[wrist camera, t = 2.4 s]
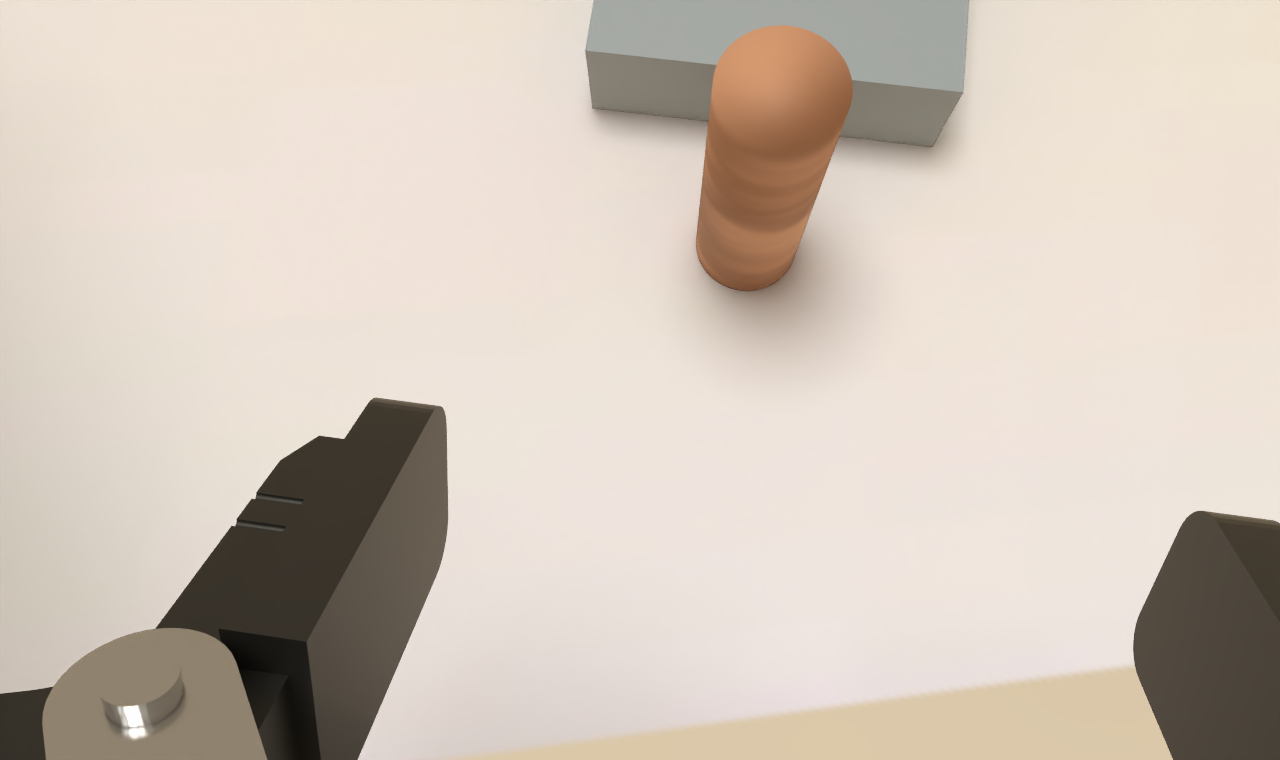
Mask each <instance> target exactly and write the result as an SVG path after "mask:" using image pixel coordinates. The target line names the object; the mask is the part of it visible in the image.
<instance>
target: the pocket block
mask: <svg viewBox="0 0 1280 760" xmlns="http://www.w3.org/2000/svg"><path fill="white" fill-rule="evenodd" d="M968 8H969V0H594V2H593V8H592V14H591V20H590V26H589V32H588V38H587V44H586V50H585V51H586V59H587V67H588V75H589V83H590V91H591V100H592V108H597V109H605V110H614V111H623V112H632V113H640V114H649V115H658V116H667V117H675V118H684V119H693V120H701V121H709V112H710V102H711V93H712V83H713V76H714V72H715V69H716V65H717V63H718V61H719V59H720V57H721V56H722V54H723V53H724V52H725V50H726V49H727V48H728V47H729V46H730V45H731V44H732V43H733V42H734V41H736V40H737V39H738V38H740V37H741V36H743V35H744V34H747V33H749V32H751V31H753V30H756V29H759V28H763V27H767V26H776V25H786V26H794V27H799V28H803V29H806V30H809V31H811V32H814V33H815V34H817V35H819V36H821V37H823V38H824V39H825V40H827V41H828V42H829V43H831V44H832V45H833V46H834V47H835V48H836V49H837V50H838V52H839V53H840V54H841V55H842V57H843V58H844V60H845V62H846V64H847V66H848V68H849V71H850V74H851V78H852V84H853V94H852V101H851V105H850V109H849V111H848V114H847V117H846V119H845V122H844V125H843V127H842V130H841V133H840V135H839V136H841V137H850V138H858V139H867V140H876V141H885V142H893V143H902V144H911V145H919V146H928V147H932V146H933V144H934V143H935V141H936V139H937V137H938V136H939V134H940V132H941V130H942V129H943V127H944V125H945V123H946V122H947V120H948V118H949V116H950V115H951V113H952V111H953V109H954V108H955V106H956V104H957V102H958V101H959V99H960V97H961V95H962V94H963V89H964V73H965V56H966V40H967V24H968Z"/></svg>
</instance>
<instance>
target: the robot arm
mask: <svg viewBox="0 0 1280 760" xmlns="http://www.w3.org/2000/svg"><path fill="white" fill-rule="evenodd" d="M447 526H448V486H447V427H446V416H445V412H444V410H443V408H442V407H441V406H434V405H427V404H419V403H412V402H404V401H397V400H390V399H382V398H373V399H372V400H371V401H370V402H369V403H368V404H367V406H366V407H365V409H364V410H363V412H362V413H361V415H360V416H359V418H358V419H357V421H356V422H355V424H354V425H353V427H352V428H351V430H350V431H349V433H348V434H347V436H346V437H345V439H339V438H332V437H324V436H318V437H316V438H315V439H313V440H312V441H310V442H309V443H307V444H306V445H304V446H302V447H301V448H299V449H298V450H296V451H295V452H293V453H291V454H290V455H288V456H287V457H285V458H284V459H282V460H280V462H279V463H278V464H277V466H276V467H275V468H274V470H273V471H272V472H271V474H270V475H269V476H268V478H267V479H266V480H265V482H264V483H263V484H262V486H261V487H260V488H259V490H258V491H257V494H256V499H251V501H250V502H249V503H248V505H247V506H246V507H245V509H244V510H243V511H242V513H241V514H240V515H239V517H238V518H237V523H236V526H231V528H230V529H229V530H228V532H227V533H226V534H225V536H224V537H223V538H222V540H221V541H220V542H219V544H218V545H217V546H216V548H215V549H214V551H213V552H212V553H211V555H210V556H209V557H208V559H207V560H206V561H205V563H204V564H203V565H202V567H201V568H200V569H199V571H198V572H197V573H196V575H195V576H194V577H193V579H192V580H191V582H190V583H189V584H188V586H187V587H186V588H185V590H184V591H183V592H182V594H181V595H180V596H179V598H178V599H177V600H176V602H175V603H174V604H173V606H172V607H171V609H170V610H169V611H168V613H167V614H166V615H165V617H164V618H163V619H162V621H161V622H160V623H159V625H158V626H157V627H156V629H152V630H146V631H141V632H137V633H133V634H129V635H127V636H124V637H121V638H118V639H115V640H113V641H111V642H109V643H107V644H104V645H102V646H100V647H98V648H97V649H95V650H94V651H92V652H90V653H89V654H87V655H85V656H84V657H83V658H81V659H80V660H79V661H78V662H76V663H75V664H74V665H72V666H71V667H70V668H69V669H68V670H67V671H66V672H65V673H64V674H63V675H62V676H61V678H60V679H59V680H58V682H57V683H56V684H55V686H54V687H50V688H44V689H38V690H31V691H22V692H13V693H4V694H0V760H357V759H358V757H359V755H360V752H361V750H362V748H363V745H364V743H365V741H366V739H367V736H368V734H369V732H370V729H371V727H372V725H373V722H374V720H375V718H376V715H377V713H378V711H379V708H380V706H381V704H382V701H383V699H384V697H385V694H386V692H387V690H388V687H389V685H390V683H391V680H392V678H393V676H394V673H395V671H396V669H397V666H398V664H399V662H400V659H401V657H402V655H403V652H404V650H405V648H406V645H407V643H408V641H409V638H410V636H411V634H412V631H413V629H414V627H415V624H416V622H417V620H418V617H419V615H420V613H421V610H422V608H423V606H424V603H425V601H426V599H427V596H428V594H429V592H430V589H431V587H432V585H433V582H434V580H435V578H436V575H437V573H438V570H439V567H440V564H441V560H442V557H443V552H444V547H445V542H446V535H447ZM1133 651H1134V662H1135V667H1136V671H1137V674H1138V677H1139V679H1140V682H1141V684H1142V687H1143V689H1144V692H1145V694H1146V696H1147V699H1148V701H1149V704H1150V706H1151V708H1152V711H1153V713H1154V715H1155V718H1156V720H1157V722H1158V725H1159V727H1160V729H1161V731H1162V734H1163V737H1164V739H1165V741H1166V743H1167V746H1168V748H1169V751H1170V753H1171V755H1172V758H1173V760H1280V523H1278V522H1276V521H1273V520H1266V519H1258V518H1251V517H1243V516H1236V515H1229V514H1221V513H1214V512H1206V511H1197V512H1194V513H1192V514H1191V515H1189V516H1188V517H1187V518H1186V520H1185V521H1184V522H1183V524H1182V526H1181V527H1180V529H1179V531H1178V534H1177V536H1176V538H1175V540H1174V542H1173V544H1172V546H1171V548H1170V551H1169V553H1168V555H1167V557H1166V559H1165V561H1164V563H1163V565H1162V568H1161V570H1160V572H1159V574H1158V576H1157V578H1156V580H1155V582H1154V585H1153V587H1152V589H1151V591H1150V593H1149V595H1148V597H1147V600H1146V602H1145V604H1144V606H1143V608H1142V610H1141V612H1140V615H1139V617H1138V620H1137V623H1136V627H1135V633H1134V643H1133Z"/></svg>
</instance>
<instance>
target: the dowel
mask: <svg viewBox="0 0 1280 760" xmlns="http://www.w3.org/2000/svg"><path fill="white" fill-rule="evenodd" d="M852 94H853V84H852V78H851V74H850V71H849V68H848V66H847V64H846V62H845V60H844V58H843V57H842V55H841V54H840V53H839V52H838V50H837V49H836V48H835V47H834V46H833V45H832V44H831V43H829V42H828V41H827V40H825V39H824V38H823V37H821V36H819V35H817V34H815V33H814V32H811V31H809V30H806V29H803V28H799V27H794V26H786V25H776V26H767V27H763V28H759V29H756V30H753V31H751V32H749V33H747V34H744V35H743V36H741V37H740V38H738V39H737V40H736V41H734V42H733V43H732V44H731V45H730V46H729V47H728V48H727V49H726V50H725V52H724V53H723V54H722V56H721V57H720V59H719V61H718V63H717V65H716V69H715V72H714V76H713V83H712V93H711V102H710V112H709V121H708V131H707V140H706V150H705V160H704V169H703V179H702V188H701V198H700V207H699V217H698V226H697V236H696V249H697V254H698V258H699V260H700V262H701V264H702V266H703V268H704V269H705V271H706V272H707V273H708V274H709V275H710V276H711V277H712V278H713V279H714V280H716V281H717V282H719V283H720V284H722V285H724V286H726V287H729V288H732V289H736V290H743V291H750V290H758V289H762V288H765V287H767V286H769V285H771V284H773V283H775V282H776V281H778V280H779V279H780V278H781V277H782V276H783V275H784V274H785V273H786V272H787V271H788V269H789V267H790V266H791V264H792V261H793V259H794V256H795V254H796V251H797V248H798V246H799V243H800V240H801V238H802V235H803V232H804V229H805V227H806V224H807V221H808V219H809V216H810V213H811V211H812V208H813V205H814V203H815V200H816V197H817V195H818V192H819V189H820V186H821V184H822V181H823V178H824V176H825V173H826V170H827V168H828V165H829V162H830V160H831V157H832V154H833V152H834V149H835V146H836V143H837V141H838V138H839V135H840V133H841V130H842V127H843V125H844V122H845V119H846V117H847V114H848V111H849V109H850V105H851V101H852Z"/></svg>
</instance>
